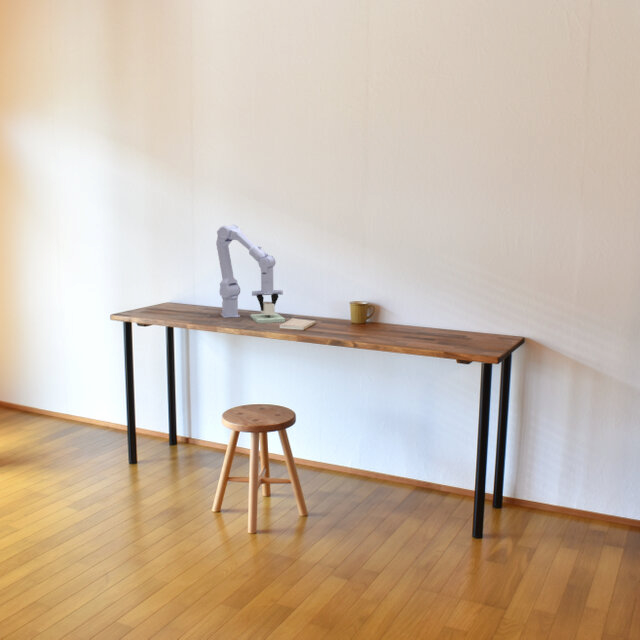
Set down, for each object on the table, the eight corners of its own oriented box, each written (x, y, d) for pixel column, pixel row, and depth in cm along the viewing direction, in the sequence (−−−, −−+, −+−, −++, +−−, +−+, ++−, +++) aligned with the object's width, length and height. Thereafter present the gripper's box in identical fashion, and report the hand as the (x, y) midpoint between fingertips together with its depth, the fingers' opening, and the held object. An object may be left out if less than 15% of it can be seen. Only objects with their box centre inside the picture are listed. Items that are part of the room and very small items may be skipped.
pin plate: (250, 317, 379) (250, 307, 378) (276, 316, 383) (276, 306, 382) (257, 323, 364) (257, 312, 363) (285, 321, 368) (285, 311, 367)
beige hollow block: (260, 312, 376) (260, 301, 375) (270, 311, 377) (270, 301, 376) (265, 315, 368) (265, 304, 367) (274, 314, 369) (274, 304, 368)
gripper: (254, 283, 364) (254, 312, 366) (284, 282, 368) (284, 310, 371) (250, 281, 371) (251, 309, 373) (280, 280, 375) (280, 308, 377)
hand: (267, 310), depth 372 cm, fingers closed on beige hollow block, 5 cm apart
